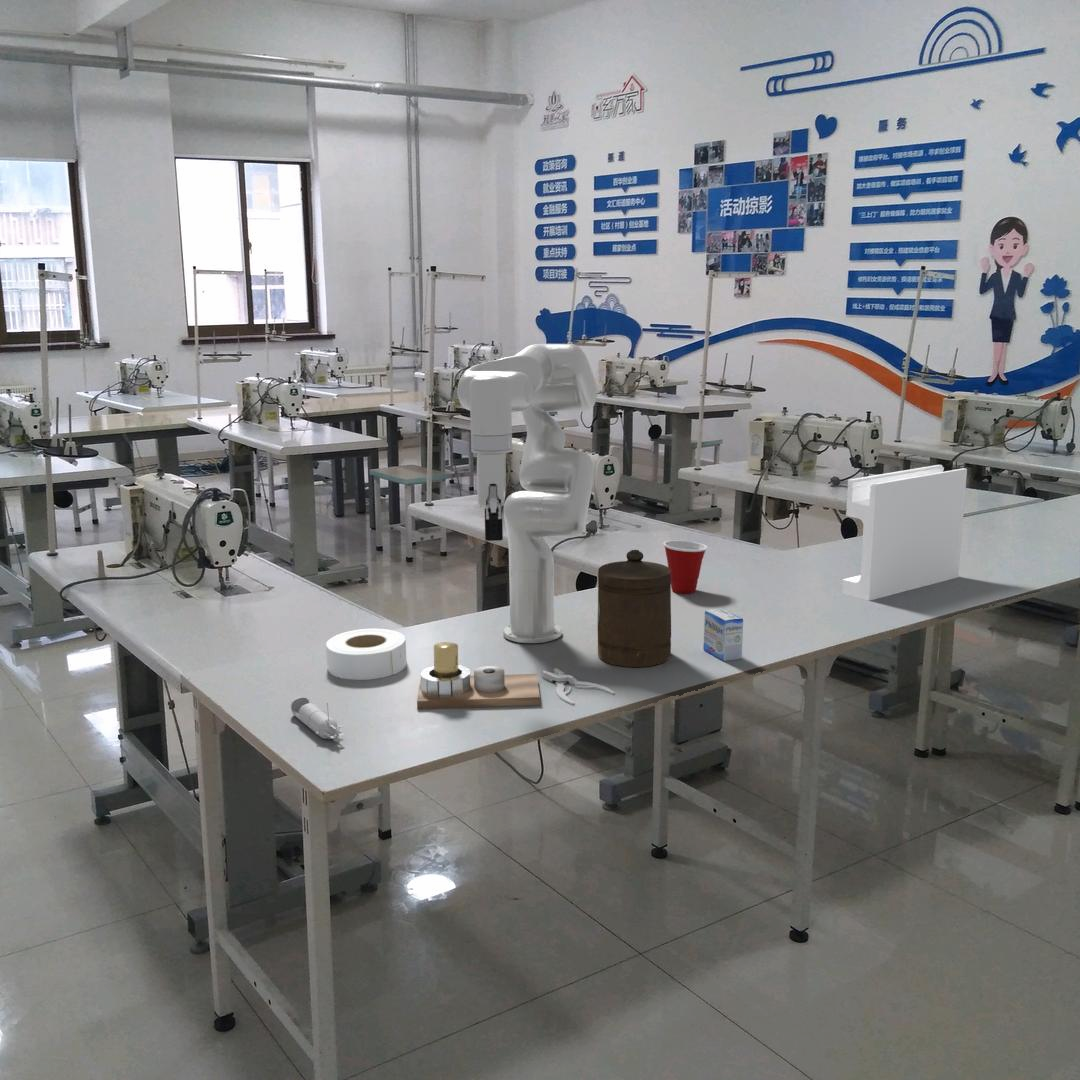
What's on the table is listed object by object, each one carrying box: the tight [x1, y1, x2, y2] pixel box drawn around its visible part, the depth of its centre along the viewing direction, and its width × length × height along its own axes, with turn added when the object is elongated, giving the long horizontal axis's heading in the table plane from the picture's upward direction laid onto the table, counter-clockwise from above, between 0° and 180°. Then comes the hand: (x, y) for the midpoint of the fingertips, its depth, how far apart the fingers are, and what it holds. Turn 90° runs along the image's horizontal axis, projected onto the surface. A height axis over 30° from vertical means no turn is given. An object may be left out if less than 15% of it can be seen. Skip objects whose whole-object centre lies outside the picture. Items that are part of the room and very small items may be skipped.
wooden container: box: [596, 549, 672, 668], centre depth 215 cm, size 15×15×22 cm
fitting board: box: [416, 665, 541, 710], centre depth 196 cm, size 12×22×5 cm, turn 93°
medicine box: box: [702, 608, 744, 662], centre depth 216 cm, size 8×4×9 cm, turn 23°
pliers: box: [541, 667, 615, 706], centre depth 200 cm, size 10×2×15 cm
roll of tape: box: [325, 628, 408, 681], centre depth 212 cm, size 16×16×6 cm
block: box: [841, 464, 968, 602], centre depth 262 cm, size 35×8×28 cm, turn 125°
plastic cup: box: [663, 539, 709, 595], centre depth 261 cm, size 11×11×12 cm
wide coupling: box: [420, 664, 471, 697], centre depth 196 cm, size 9×9×3 cm
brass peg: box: [433, 641, 459, 679], centre depth 196 cm, size 4×4×8 cm
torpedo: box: [290, 696, 345, 744], centre depth 182 cm, size 18×5×6 cm, turn 35°
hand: (493, 534), depth 199 cm, fingers open, 9 cm apart
